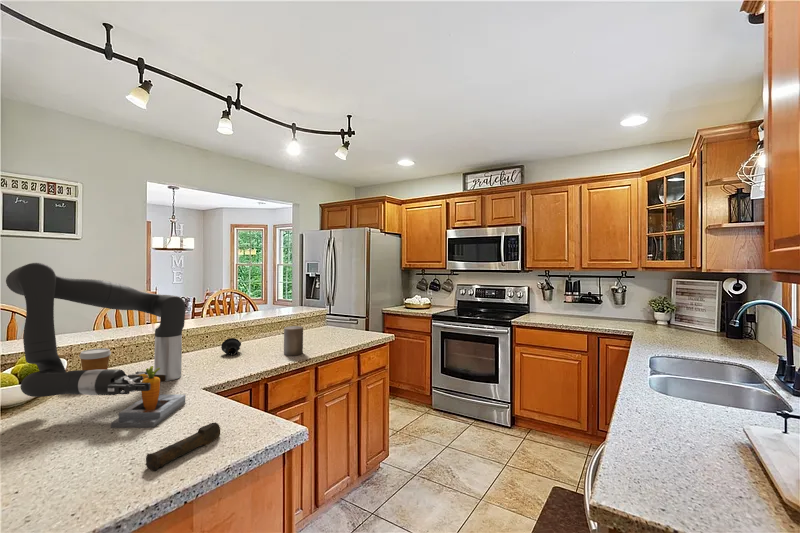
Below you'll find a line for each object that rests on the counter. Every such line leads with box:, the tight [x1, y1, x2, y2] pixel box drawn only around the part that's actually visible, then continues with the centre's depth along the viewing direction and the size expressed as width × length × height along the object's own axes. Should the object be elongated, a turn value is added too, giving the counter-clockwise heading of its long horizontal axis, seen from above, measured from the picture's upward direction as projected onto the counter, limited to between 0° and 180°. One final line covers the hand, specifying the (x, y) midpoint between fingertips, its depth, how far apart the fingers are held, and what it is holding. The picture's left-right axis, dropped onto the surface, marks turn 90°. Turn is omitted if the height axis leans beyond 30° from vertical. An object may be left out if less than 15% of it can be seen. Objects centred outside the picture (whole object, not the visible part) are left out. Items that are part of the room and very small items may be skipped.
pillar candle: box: [283, 325, 304, 357], centre depth 193 cm, size 10×10×15 cm
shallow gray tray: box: [110, 393, 186, 429], centre depth 114 cm, size 18×12×3 cm, turn 5°
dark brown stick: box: [145, 422, 221, 472], centre depth 93 cm, size 19×4×5 cm, turn 155°
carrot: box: [141, 365, 161, 410], centre depth 114 cm, size 5×5×15 cm
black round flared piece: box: [220, 337, 242, 356], centre depth 192 cm, size 9×11×18 cm
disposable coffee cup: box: [78, 347, 112, 370], centre depth 142 cm, size 10×10×12 cm
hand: (158, 382), depth 114 cm, fingers open, 8 cm apart
